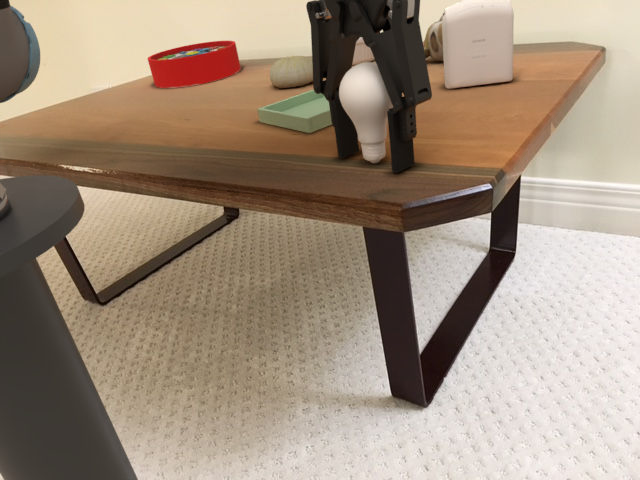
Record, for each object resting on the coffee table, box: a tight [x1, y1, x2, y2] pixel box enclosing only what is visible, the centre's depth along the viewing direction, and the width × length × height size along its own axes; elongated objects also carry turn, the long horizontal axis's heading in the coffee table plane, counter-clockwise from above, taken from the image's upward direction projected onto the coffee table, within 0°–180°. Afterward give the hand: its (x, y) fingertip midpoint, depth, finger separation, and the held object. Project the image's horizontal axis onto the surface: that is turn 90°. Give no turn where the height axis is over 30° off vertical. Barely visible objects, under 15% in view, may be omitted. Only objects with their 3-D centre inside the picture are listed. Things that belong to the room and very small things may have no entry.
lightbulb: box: [339, 61, 393, 164], centre depth 58 cm, size 6×6×11 cm
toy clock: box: [147, 40, 242, 89], centre depth 124 cm, size 20×6×20 cm
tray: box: [257, 88, 333, 134], centre depth 81 cm, size 13×12×2 cm
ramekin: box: [352, 37, 375, 66], centre depth 113 cm, size 11×11×5 cm
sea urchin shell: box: [269, 55, 313, 89], centre depth 102 cm, size 9×8×8 cm
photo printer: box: [442, 0, 515, 90], centre depth 81 cm, size 10×4×12 cm, turn 82°
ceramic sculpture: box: [423, 12, 444, 62], centre depth 100 cm, size 11×9×15 cm
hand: (374, 160), depth 61 cm, fingers open, 8 cm apart
